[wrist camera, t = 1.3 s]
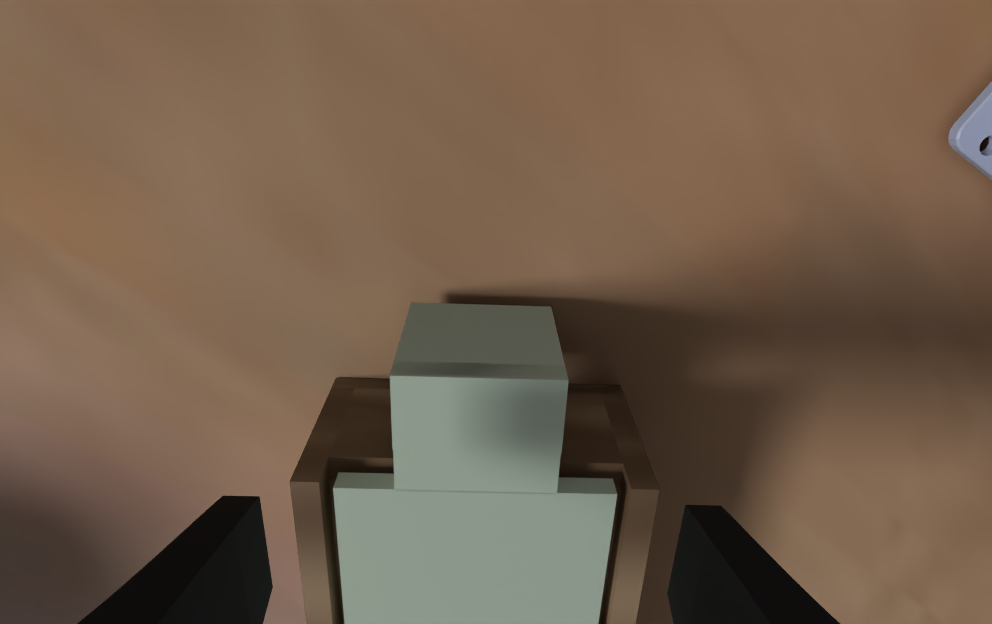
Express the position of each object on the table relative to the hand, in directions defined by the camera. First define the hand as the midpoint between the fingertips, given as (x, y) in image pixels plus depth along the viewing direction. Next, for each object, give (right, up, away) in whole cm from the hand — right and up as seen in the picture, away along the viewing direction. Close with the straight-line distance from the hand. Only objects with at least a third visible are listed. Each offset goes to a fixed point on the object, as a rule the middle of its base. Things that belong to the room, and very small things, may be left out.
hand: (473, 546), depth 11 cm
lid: (0, -3, +10) cm, 11 cm away
